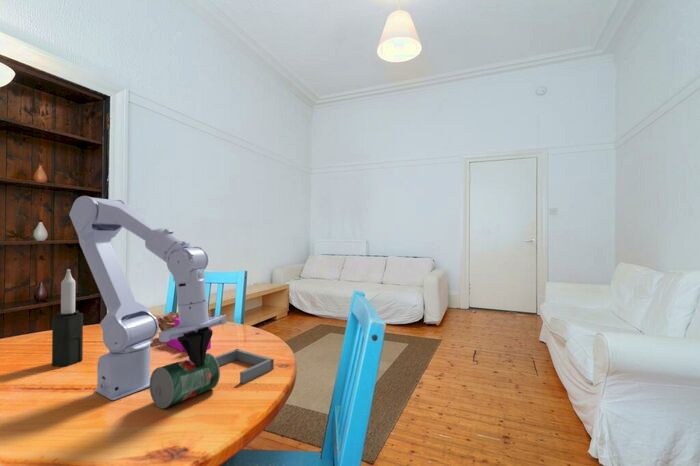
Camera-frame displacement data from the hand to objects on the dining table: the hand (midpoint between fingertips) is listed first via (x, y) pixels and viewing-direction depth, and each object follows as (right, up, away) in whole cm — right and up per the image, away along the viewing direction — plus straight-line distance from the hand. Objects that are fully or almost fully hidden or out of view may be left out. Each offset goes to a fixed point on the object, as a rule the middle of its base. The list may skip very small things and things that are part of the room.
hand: (199, 365), depth 71 cm
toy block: (-18, -7, +31) cm, 36 cm away
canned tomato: (0, -3, +4) cm, 5 cm away
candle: (-43, -6, +17) cm, 47 cm away
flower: (-27, -6, +39) cm, 48 cm away
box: (+4, -7, +13) cm, 15 cm away
